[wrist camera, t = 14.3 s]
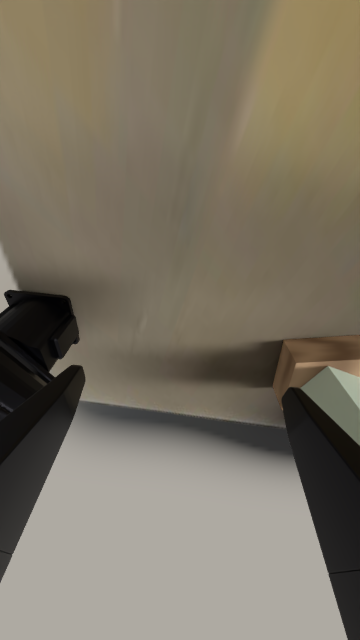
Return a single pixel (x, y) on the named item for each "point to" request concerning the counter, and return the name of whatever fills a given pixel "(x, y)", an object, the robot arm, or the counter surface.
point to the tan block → (314, 360)
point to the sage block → (337, 398)
